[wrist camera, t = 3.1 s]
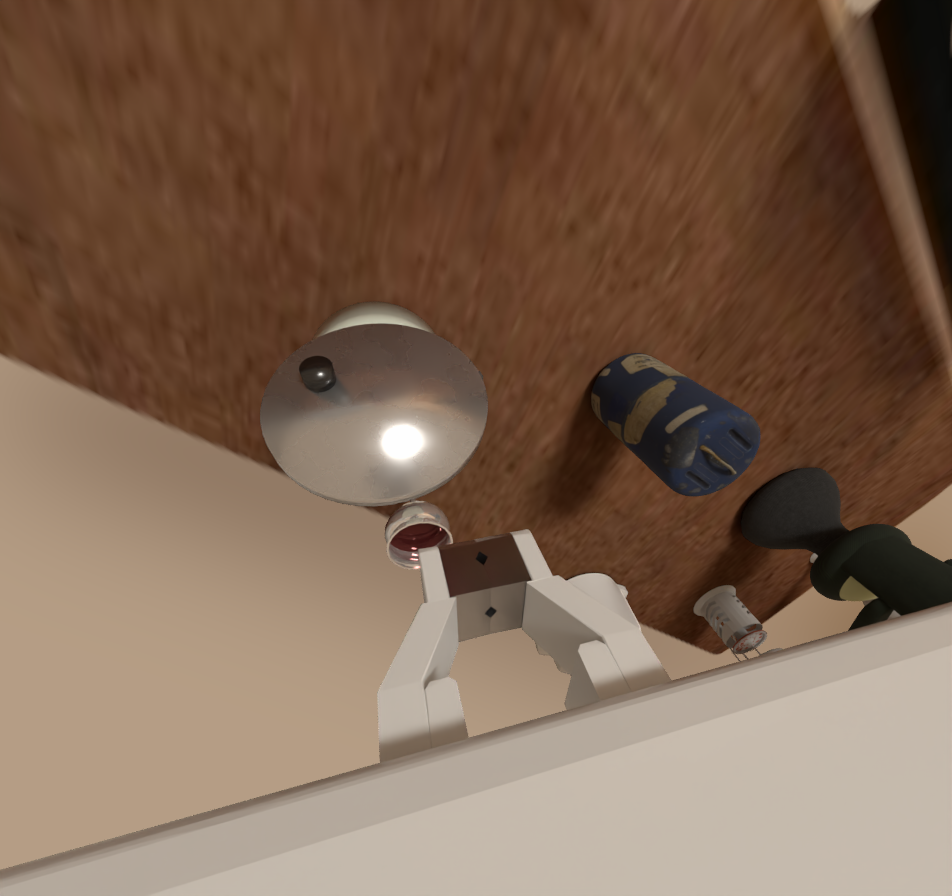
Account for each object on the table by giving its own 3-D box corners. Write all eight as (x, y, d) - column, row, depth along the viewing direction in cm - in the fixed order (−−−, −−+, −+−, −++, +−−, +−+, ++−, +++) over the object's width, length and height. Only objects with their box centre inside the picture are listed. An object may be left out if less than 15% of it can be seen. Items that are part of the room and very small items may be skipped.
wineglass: (446, 467, 51) (466, 534, 41) (416, 504, 53) (429, 576, 43) (400, 444, 48) (410, 511, 38) (370, 485, 50) (372, 559, 40)
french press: (739, 579, 84) (862, 707, 63) (729, 611, 90) (837, 736, 70) (696, 594, 83) (806, 728, 62) (689, 625, 89) (786, 756, 69)
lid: (509, 486, 24) (515, 468, 23) (259, 525, 22) (243, 508, 20) (463, 327, 32) (465, 303, 30) (270, 342, 29) (259, 317, 27)
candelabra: (735, 556, 78) (1065, 884, 42) (716, 487, 66) (1164, 871, 29) (827, 504, 76) (1260, 803, 39) (825, 423, 64) (1458, 751, 27)
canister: (606, 432, 54) (697, 525, 40) (572, 385, 49) (662, 472, 34) (667, 386, 52) (786, 464, 38) (638, 332, 47) (763, 399, 32)
